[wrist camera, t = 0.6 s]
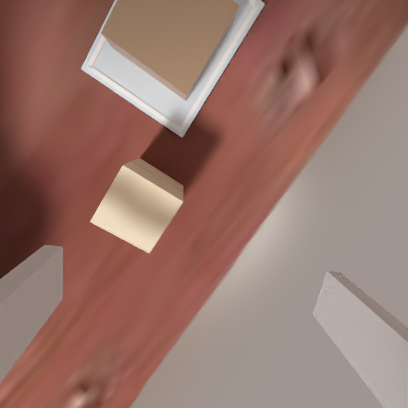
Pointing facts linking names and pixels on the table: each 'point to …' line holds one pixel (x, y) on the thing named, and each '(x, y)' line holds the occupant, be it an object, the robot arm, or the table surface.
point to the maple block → (139, 204)
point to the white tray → (169, 53)
